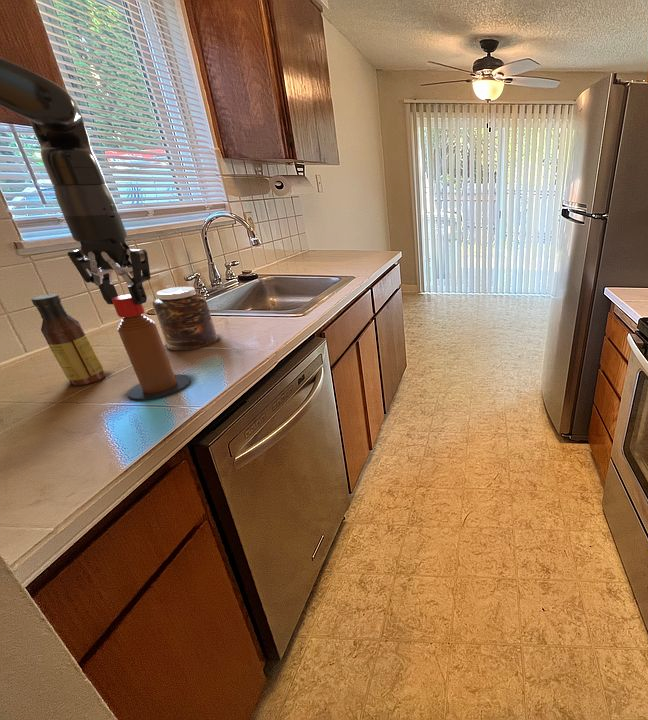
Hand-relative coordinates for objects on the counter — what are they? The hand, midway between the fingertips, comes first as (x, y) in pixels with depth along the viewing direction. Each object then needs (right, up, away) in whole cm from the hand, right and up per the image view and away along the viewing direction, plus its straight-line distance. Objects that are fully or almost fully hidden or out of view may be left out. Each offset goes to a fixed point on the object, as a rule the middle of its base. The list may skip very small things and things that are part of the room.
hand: (127, 302), depth 79 cm
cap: (0, -2, +1) cm, 2 cm away
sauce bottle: (-20, -16, +12) cm, 28 cm away
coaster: (0, -18, +8) cm, 19 cm away
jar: (-10, -7, +32) cm, 35 cm away
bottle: (0, -17, +8) cm, 19 cm away
